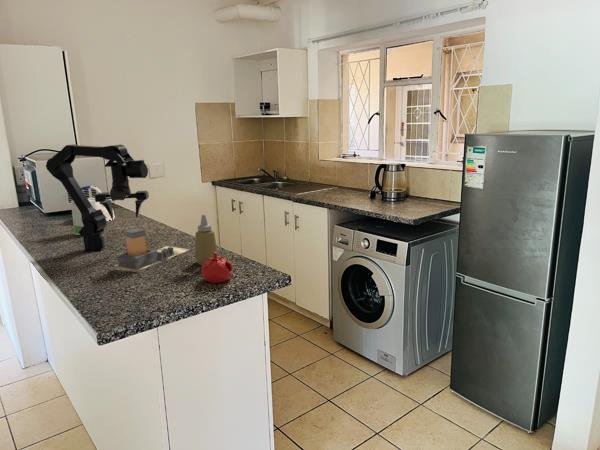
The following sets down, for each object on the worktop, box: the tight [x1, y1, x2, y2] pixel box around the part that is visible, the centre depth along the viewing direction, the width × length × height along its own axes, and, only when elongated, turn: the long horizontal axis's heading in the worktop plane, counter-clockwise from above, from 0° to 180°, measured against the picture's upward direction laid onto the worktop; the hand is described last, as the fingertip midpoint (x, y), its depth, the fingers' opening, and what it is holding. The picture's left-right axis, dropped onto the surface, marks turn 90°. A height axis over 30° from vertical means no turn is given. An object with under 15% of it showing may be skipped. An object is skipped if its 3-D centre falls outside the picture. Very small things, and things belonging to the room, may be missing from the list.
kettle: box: [80, 185, 116, 222], centre depth 233 cm, size 20×21×18 cm
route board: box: [114, 245, 191, 274], centre depth 165 cm, size 26×12×5 cm, turn 154°
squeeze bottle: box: [194, 214, 219, 268], centre depth 157 cm, size 8×8×18 cm
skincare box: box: [70, 199, 96, 236], centre depth 205 cm, size 8×7×16 cm
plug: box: [124, 227, 147, 257], centre depth 158 cm, size 5×5×12 cm
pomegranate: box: [200, 252, 234, 284], centre depth 143 cm, size 10×10×9 cm
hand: (124, 218), depth 176 cm, fingers open, 9 cm apart
